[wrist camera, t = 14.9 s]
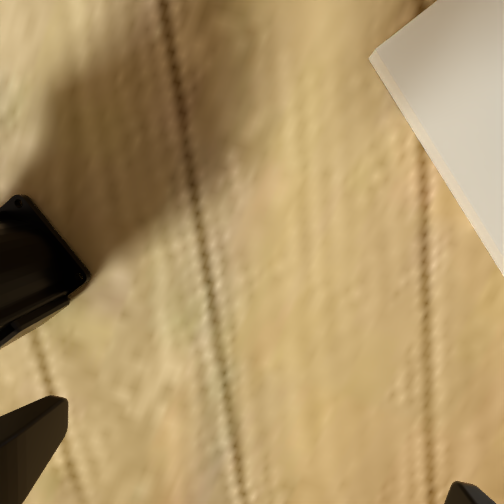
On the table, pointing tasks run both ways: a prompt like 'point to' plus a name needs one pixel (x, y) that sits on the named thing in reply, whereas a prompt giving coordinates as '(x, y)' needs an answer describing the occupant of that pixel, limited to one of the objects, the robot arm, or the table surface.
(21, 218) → the robot arm
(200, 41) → the table surface
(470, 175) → the collar board
